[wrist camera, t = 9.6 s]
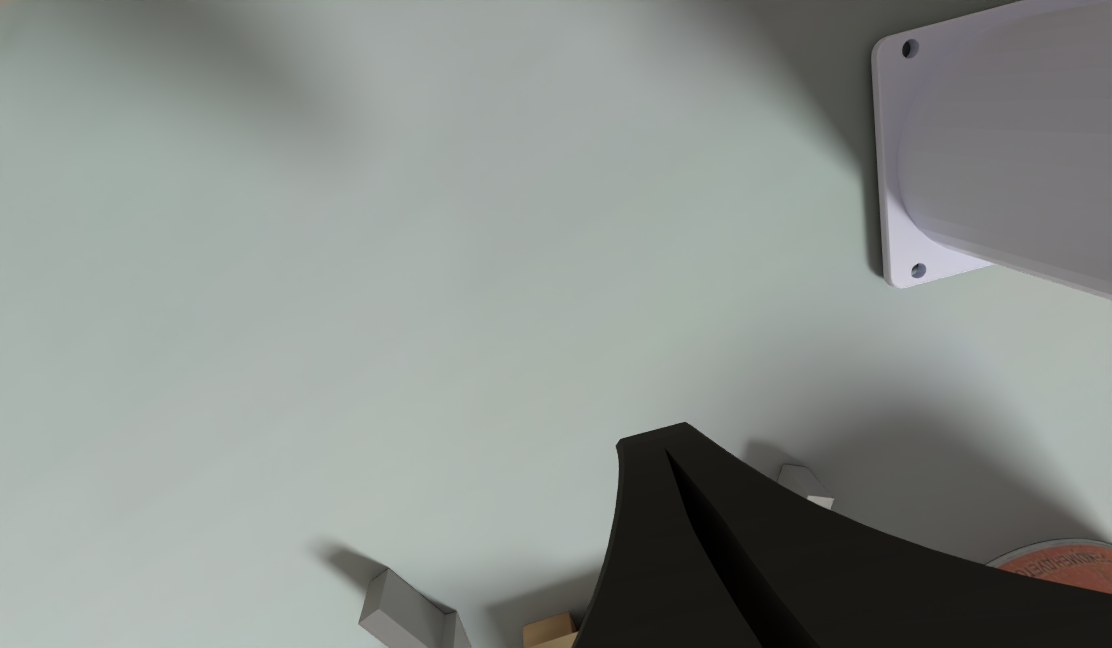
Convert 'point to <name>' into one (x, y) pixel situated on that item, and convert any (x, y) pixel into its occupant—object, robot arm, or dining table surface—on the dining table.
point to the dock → (440, 640)
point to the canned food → (1063, 563)
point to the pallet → (550, 632)
